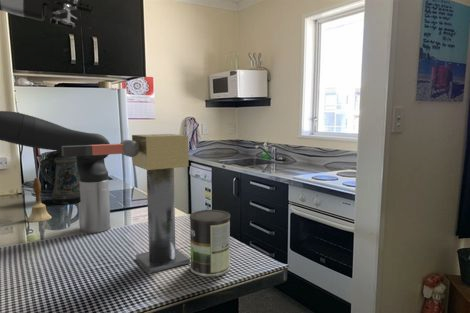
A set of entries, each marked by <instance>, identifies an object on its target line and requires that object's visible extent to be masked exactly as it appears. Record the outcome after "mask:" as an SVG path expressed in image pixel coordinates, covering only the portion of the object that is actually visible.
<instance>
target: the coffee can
mask: <svg viewBox="0 0 470 313" xmlns="http://www.w3.org/2000/svg"><path fill="white" fill-rule="evenodd" d="M230 219H231V214H230V213H229V212H228V211H224V210H221V209H202V210H197V211H194V212H192V213H190V214H189V220H190V221H189V226H190V227H189V228H190V232H189V234H190V238H189V239H190V268H189V270H190V271H191V272H192V273H193V274H194V275H197V276H200V277H207V278H211V277H218V276H221V275H222V276H223V275H224V274H226V273H228V272H229V271H230V270H231V269H230V268H231V265H230V262H231V261H230V260H231V258H230V255H231V254H230V253H231V251H230V250H231V248H230V245H231V244H230V242H231V238H230V237H231V235H230V234H231V232H230V231H231V230H230V228H231V220H230Z"/></svg>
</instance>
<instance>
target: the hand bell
mask: <svg viewBox="0 0 470 313" xmlns="http://www.w3.org/2000/svg"><path fill="white" fill-rule="evenodd" d="M32 187H33V188H32V190H33V193H34V195H35V204H33V205H32V206H31V211H30V215H29V216H28V217H27V218H26V221H27V222H28V223H39V222H40V223H41V222H45V221H46V222H47V221H49V220H51V219H52V215H50V214H49V213H48V211H47V206H46V204H44V203H42V200H41V199H42V198H41V191H42V184H41V182H40V179H39V178H38V177H35V178H34V179H33V184H32Z"/></svg>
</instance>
